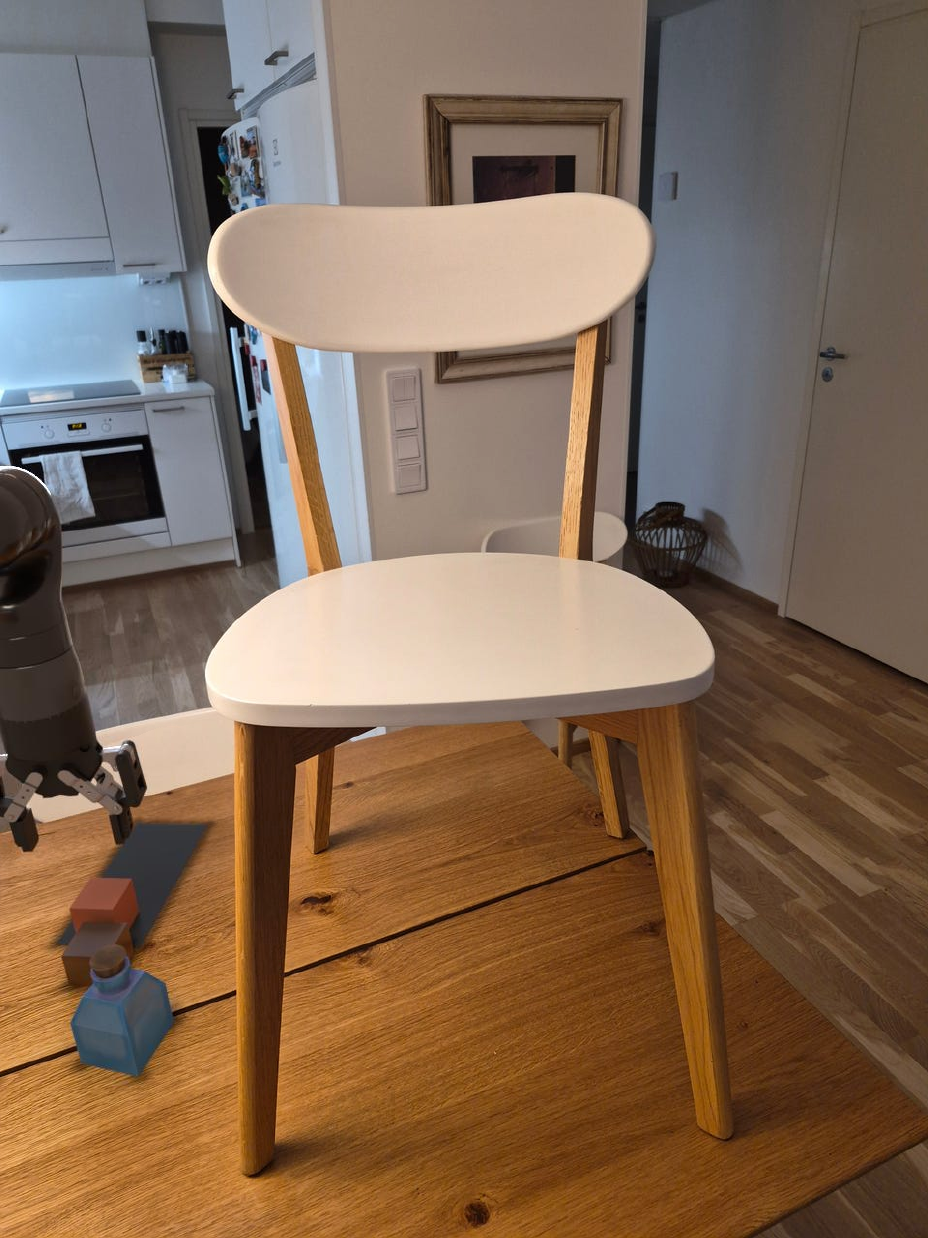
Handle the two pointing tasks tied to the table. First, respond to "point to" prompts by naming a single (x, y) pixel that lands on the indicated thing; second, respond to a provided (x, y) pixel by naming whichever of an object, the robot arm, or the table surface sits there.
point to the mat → (136, 880)
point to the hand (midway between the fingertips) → (77, 843)
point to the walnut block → (92, 948)
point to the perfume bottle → (120, 1014)
